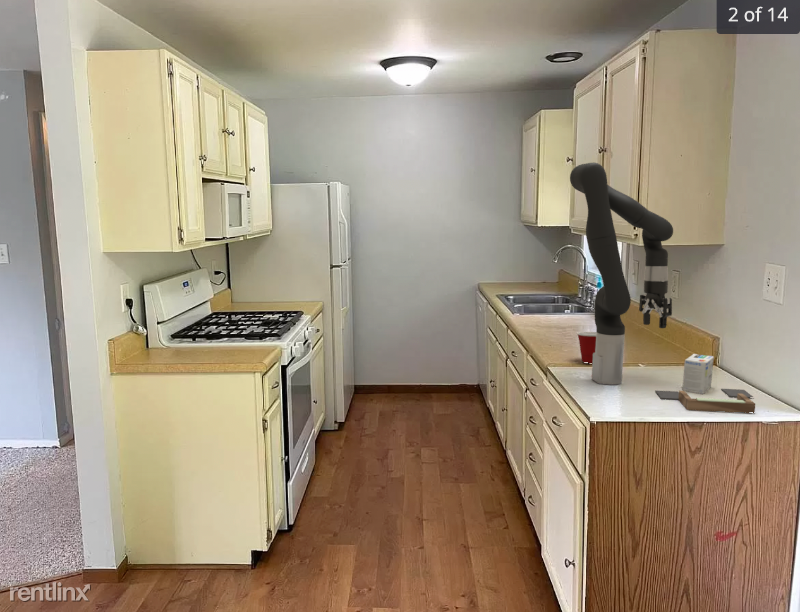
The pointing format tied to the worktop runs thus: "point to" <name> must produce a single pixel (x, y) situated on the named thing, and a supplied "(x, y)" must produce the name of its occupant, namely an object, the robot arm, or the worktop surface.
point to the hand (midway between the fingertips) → (654, 326)
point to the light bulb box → (697, 373)
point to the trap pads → (675, 394)
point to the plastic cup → (587, 345)
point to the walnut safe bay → (717, 403)
